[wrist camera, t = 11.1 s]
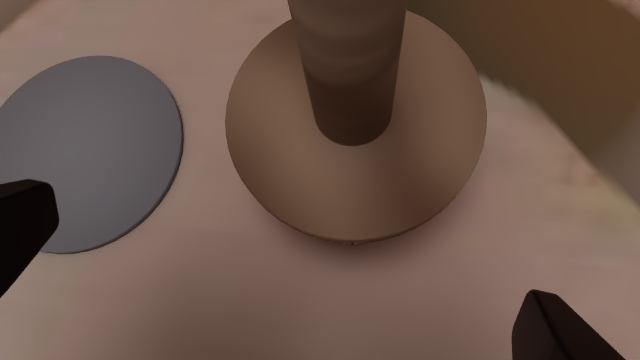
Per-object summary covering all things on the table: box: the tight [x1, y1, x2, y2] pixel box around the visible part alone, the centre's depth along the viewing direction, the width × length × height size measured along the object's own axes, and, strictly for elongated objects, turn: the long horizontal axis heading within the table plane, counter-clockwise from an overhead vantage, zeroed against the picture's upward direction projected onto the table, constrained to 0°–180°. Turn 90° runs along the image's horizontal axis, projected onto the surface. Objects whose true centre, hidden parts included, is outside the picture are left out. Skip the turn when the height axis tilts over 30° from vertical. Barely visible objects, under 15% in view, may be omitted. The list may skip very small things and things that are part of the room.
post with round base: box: [225, 0, 487, 243], centre depth 14 cm, size 10×10×10 cm
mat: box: [0, 56, 183, 254], centre depth 24 cm, size 11×11×1 cm
